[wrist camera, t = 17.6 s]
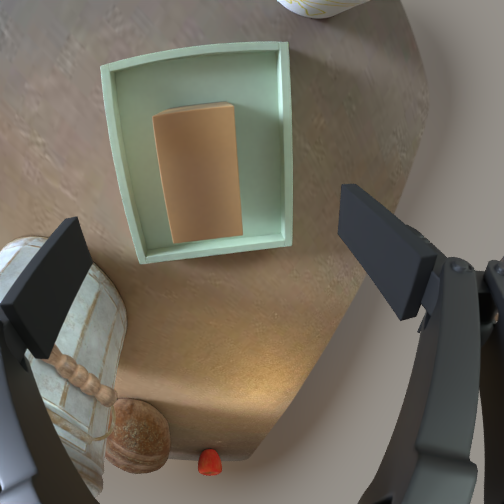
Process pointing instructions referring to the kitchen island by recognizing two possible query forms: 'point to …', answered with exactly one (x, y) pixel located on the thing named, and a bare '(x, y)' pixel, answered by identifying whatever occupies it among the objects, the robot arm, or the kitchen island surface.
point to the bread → (138, 437)
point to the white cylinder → (320, 7)
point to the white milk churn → (77, 362)
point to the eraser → (199, 170)
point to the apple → (209, 463)
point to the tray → (247, 137)
